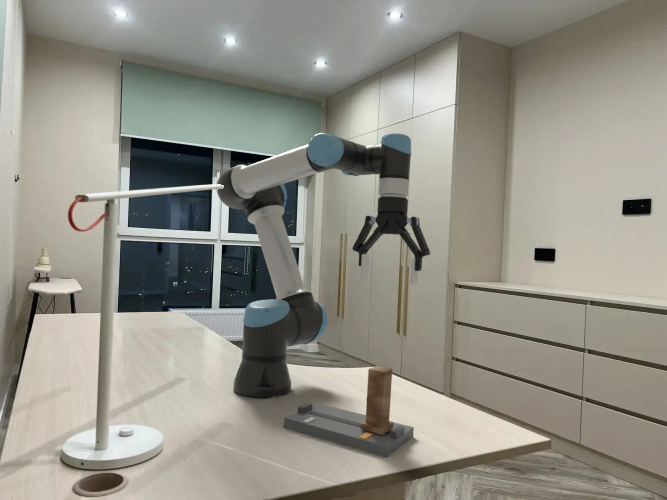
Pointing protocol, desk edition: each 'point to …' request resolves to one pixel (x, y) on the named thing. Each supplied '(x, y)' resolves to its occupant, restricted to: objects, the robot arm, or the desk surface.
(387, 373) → the fader
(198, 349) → the desk surface
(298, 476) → the desk surface
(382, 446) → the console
